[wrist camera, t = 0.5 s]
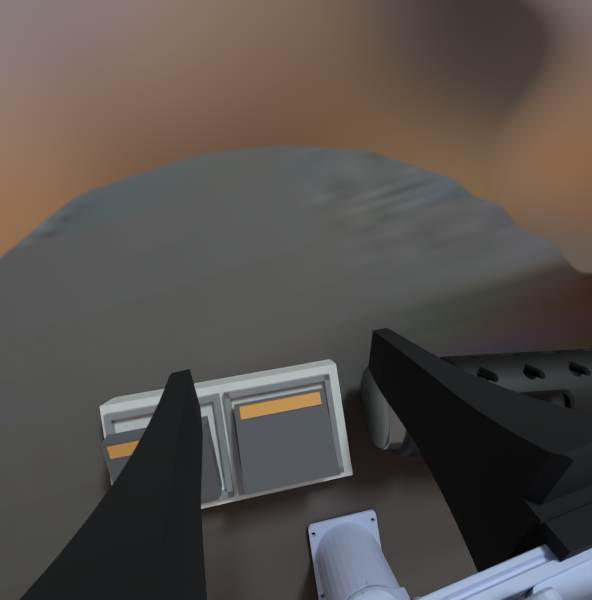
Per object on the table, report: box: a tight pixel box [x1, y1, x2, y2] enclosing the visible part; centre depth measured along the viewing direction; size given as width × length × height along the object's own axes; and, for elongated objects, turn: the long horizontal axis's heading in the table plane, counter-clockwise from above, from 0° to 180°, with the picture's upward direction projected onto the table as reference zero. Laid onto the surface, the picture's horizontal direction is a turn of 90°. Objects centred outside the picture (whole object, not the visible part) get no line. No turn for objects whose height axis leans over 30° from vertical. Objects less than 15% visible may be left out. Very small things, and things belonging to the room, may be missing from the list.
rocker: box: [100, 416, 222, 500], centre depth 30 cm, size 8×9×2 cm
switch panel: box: [100, 359, 353, 509], centre depth 33 cm, size 12×24×4 cm, turn 99°
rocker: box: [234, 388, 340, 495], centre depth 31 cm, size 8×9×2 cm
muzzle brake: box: [361, 349, 592, 457], centre depth 34 cm, size 10×28×10 cm, turn 92°
